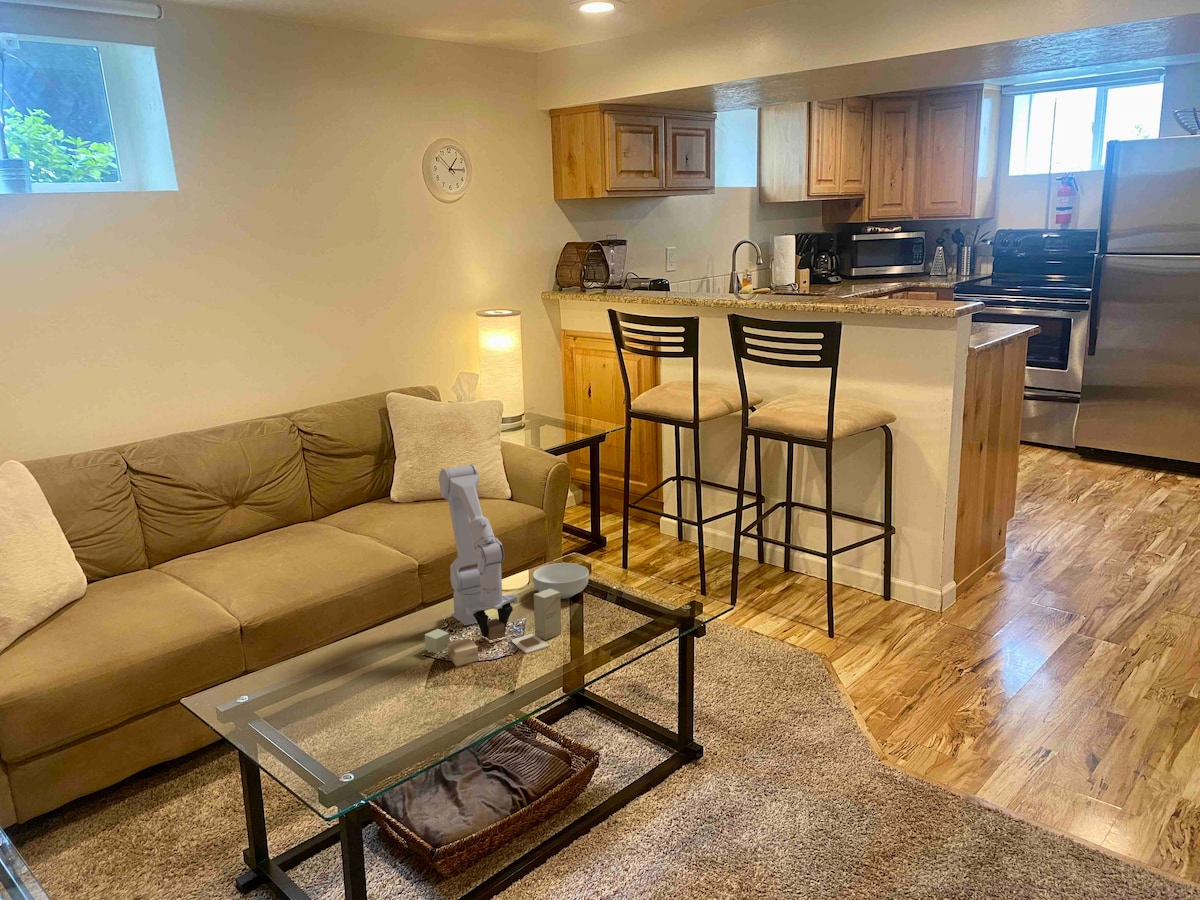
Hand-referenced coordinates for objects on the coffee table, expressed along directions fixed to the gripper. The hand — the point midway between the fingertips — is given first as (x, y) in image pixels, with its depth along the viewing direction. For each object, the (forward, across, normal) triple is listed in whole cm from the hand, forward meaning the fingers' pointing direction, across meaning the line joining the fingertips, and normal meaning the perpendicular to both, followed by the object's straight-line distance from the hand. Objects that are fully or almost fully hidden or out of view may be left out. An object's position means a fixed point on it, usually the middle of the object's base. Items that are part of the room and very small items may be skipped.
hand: (493, 633), depth 239 cm
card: (+1, +6, -9) cm, 11 cm away
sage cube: (+2, -15, +3) cm, 15 cm away
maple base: (+2, -12, -6) cm, 14 cm away
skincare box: (+2, +13, -7) cm, 15 cm away
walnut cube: (+2, 0, 0) cm, 2 cm away
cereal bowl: (+2, +31, +15) cm, 34 cm away
